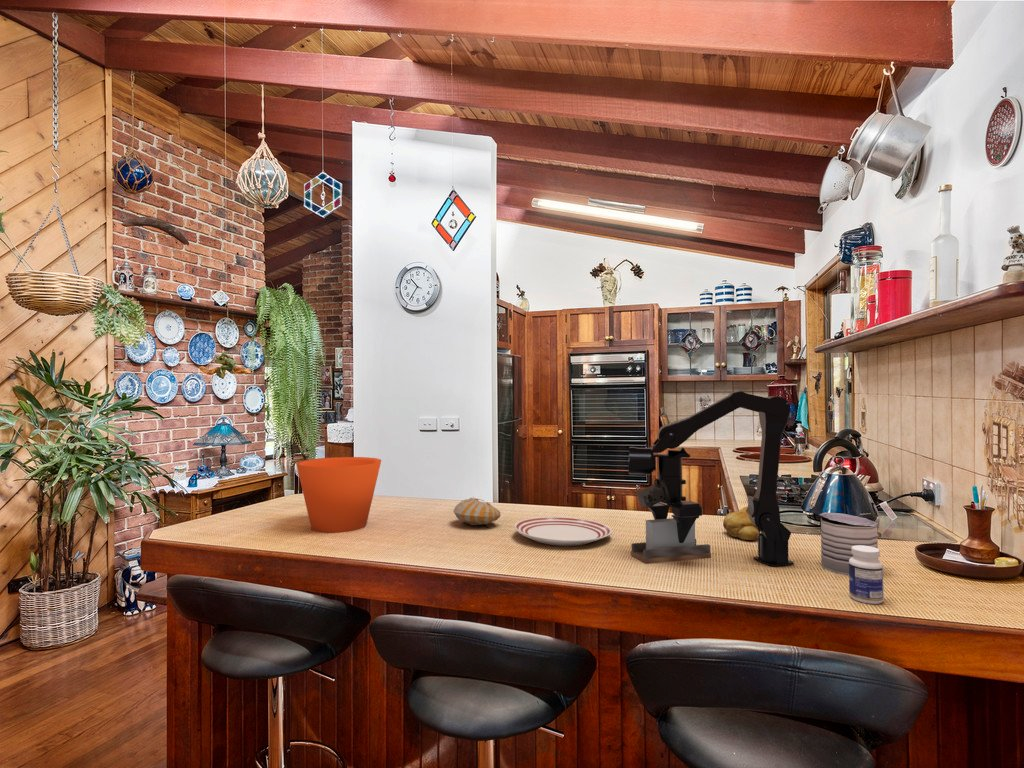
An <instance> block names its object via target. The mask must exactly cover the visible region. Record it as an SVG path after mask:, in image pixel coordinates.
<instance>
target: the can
mask: <svg viewBox="0 0 1024 768" xmlns="http://www.w3.org/2000/svg"><path fill="white" fill-rule="evenodd" d="M818 516H821V517H820V546H821V547H820V550H821V551H820V554H821V556H820V558H821V561H820V562H821V563H820V564H821V567H822V568H823V569H824V570H827V571H829V572H832V573H835V574H837V575H838V574H839V575H843V576H844V575H845V576H849V559H850V558H851V557H853V554H852V553H851V547H852V546H856V545H864V546H871V547H875V548H877V549H879V548H878V547H879V546H878V545H879V544H878V543H879V542H878V541H879V540H878V537H879V536H878V525H879V523H878V522H875V521H873V520H871V519H868V518H865V517H861V516H857V515H851V514H846V513H838V512H837V513H836V512H822V513H820V514H818Z"/></svg>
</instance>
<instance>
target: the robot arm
mask: <svg viewBox="0 0 1024 768" xmlns="http://www.w3.org/2000/svg"><path fill="white" fill-rule="evenodd" d="M740 408H742V409H744V410H748V411H752V412H756V413H758V419H759V425H760V429H761V442H760V452H759V453H760V454H759V462H758V463H759V464H758V475H757V483H756V484H757V485H756V486H757V487H756V491H755V493H754V495H753V496H751V495H747V507H748V508H747V510H746V512H747V513H748V514H749V519H750V520H751V522H752V523H753V524H754V525H755V526H756V527H757V528H758V530H759V532H760V533H759V535H758V538H757V555H758V556H753V560H755V561H758V562H760V563H762V564H764V565H767V566H770V567H780V566H791V565H795V561H793V560H790V559H789V541H790V538H791V535H792V532H791V531H790V529H788V528H787V527H786V526H785V525H784V524H783V523H782V522H781V513H780V506H779V505H780V504H779V500H778V496H777V487H778V477H779V468H780V456H781V455H780V454H781V445H782V435H783V433H784V430H785V429H786V427H787V424H788V422H789V419H790V418H789V417H790V414H791V411H792V410H791V404H790V403H789V401H788V400H787V399H786V398H784V397H782V396H777V395H775V396H773V395H772V396H766V397H765V396H761V395H755V394H751V393H746V392H744V391H743V390H733V391H732V392H730V393H729V394H728V395H727V396H725V397H722V398H721V399H719V400H717V401H714V402H713V403H712V404H710V405H708V406H706V407H704V408H703V409H701V410H699V411H697V412H695V413H693V414H691V415H690V416H688V417H685V418H682V419H679V420H675V421H672V422H670V423H667V424H664V425H662V426H660V428H659V429H658V431H657V438H656V439H655V441H654V442H653V443H651V446H650V447H636V446H630V447H628V466H627V467H628V468H627V469H628V475H652V472H654V471H656V469H657V470H658V473H657V474H658V475H657V478H654V479H653V484H652V485H650V486H647V487H645V488H643V489H640V490H639V491H636V492H635V494H636V497H637V500H638V503H639V505H640V506H644V507H645V508H647V509H648V510H649V511H650V512H651V513H652V516H653V520H655V519H668V515H669V511H670V508H671V512H672V514H671V518H674V519H675V520H676V523H677V533H678V540H679V543H684V541H685V539H686V537H687V535H688V533H689V531H690V529H691V527H692V525H693V524H694V522H695V523H696V520H697V519H700V517H702V516H703V515H704V514H703V511H704V510H703V509H704V508H703V506H702V505H701V504H700V503H698V502H695V501H693V500H687V496H685V495H683V485H686V484H687V481H686V479H683V459H684V458H685V459H686V458H687V459H689V458H691V454H689V453H688V452H687V450H686V449H685V447H683V446H682V447H681V448H680V449H679V450H677V449H676V448H678V447H680V446H681V445H682V444H683V443H685V442H686V441H687V440H689V438H691V437H692V436H693V435H694V434H695V433H696V432H697V431H699V430H701V429H703V428H704V427H707V426H709V425H710V424H713V422H716V421H718V420H719V419H721V418H723V417H724V416H727V415H728V414H730V413H731V412H734V411H735V410H738V409H740ZM667 449H668V450H667ZM673 449H674V450H673ZM675 449H676V450H675ZM666 450H667V451H666ZM664 451H666V453H663V452H664ZM657 458H658V459H657ZM656 459H657V460H656ZM656 461H658V462H656ZM657 463H658V465H657ZM656 466H658V468H657V467H656Z"/></svg>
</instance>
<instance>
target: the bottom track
mask: <svg viewBox="0 0 1024 768" xmlns="http://www.w3.org/2000/svg"><path fill="white" fill-rule="evenodd" d="M630 556H632V558H635V559H636V560H638V561H640V562H642V563H644V564H656V563H657V564H658V563H669V562H679V561H686V560H687V561H688V560H690V561H691V560H698V559H709V558H710V559H711V558H712V553H711V544H709V543H707V544H706V543H705V544H697V538H695V545H692V546H681V547H669V548H658V549H646V541H645V542H635V543H631V550H630Z"/></svg>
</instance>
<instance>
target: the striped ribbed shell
mask: <svg viewBox="0 0 1024 768" xmlns="http://www.w3.org/2000/svg"><path fill="white" fill-rule="evenodd" d="M452 512H453V513H454V515H455V517H456V519H458V521H459V522H463V523H466V524H469V525H471V526H478V525H486V526H488V525H489V524H491V523H493V522H496V521H497V520H498V519H500V518H501V511H500V510H499V509H498V508H496V507H495V506H492V505H491V503H490V502H488V501H484V500H483V499H480V498H476V497H474V496H472V497H470V498H467V499H463V500H461V501H460V502H459V503H457V504H456V505H455V507H454V509H453V511H452Z"/></svg>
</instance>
